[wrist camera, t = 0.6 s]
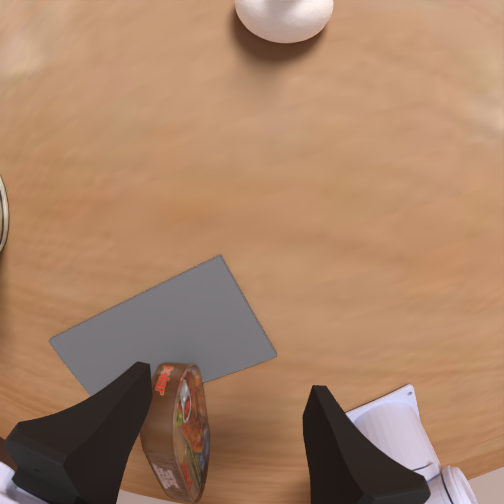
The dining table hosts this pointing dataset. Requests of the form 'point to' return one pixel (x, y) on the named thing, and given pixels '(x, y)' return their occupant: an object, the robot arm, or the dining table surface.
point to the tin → (177, 431)
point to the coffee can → (3, 215)
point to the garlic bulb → (284, 18)
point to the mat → (169, 330)
